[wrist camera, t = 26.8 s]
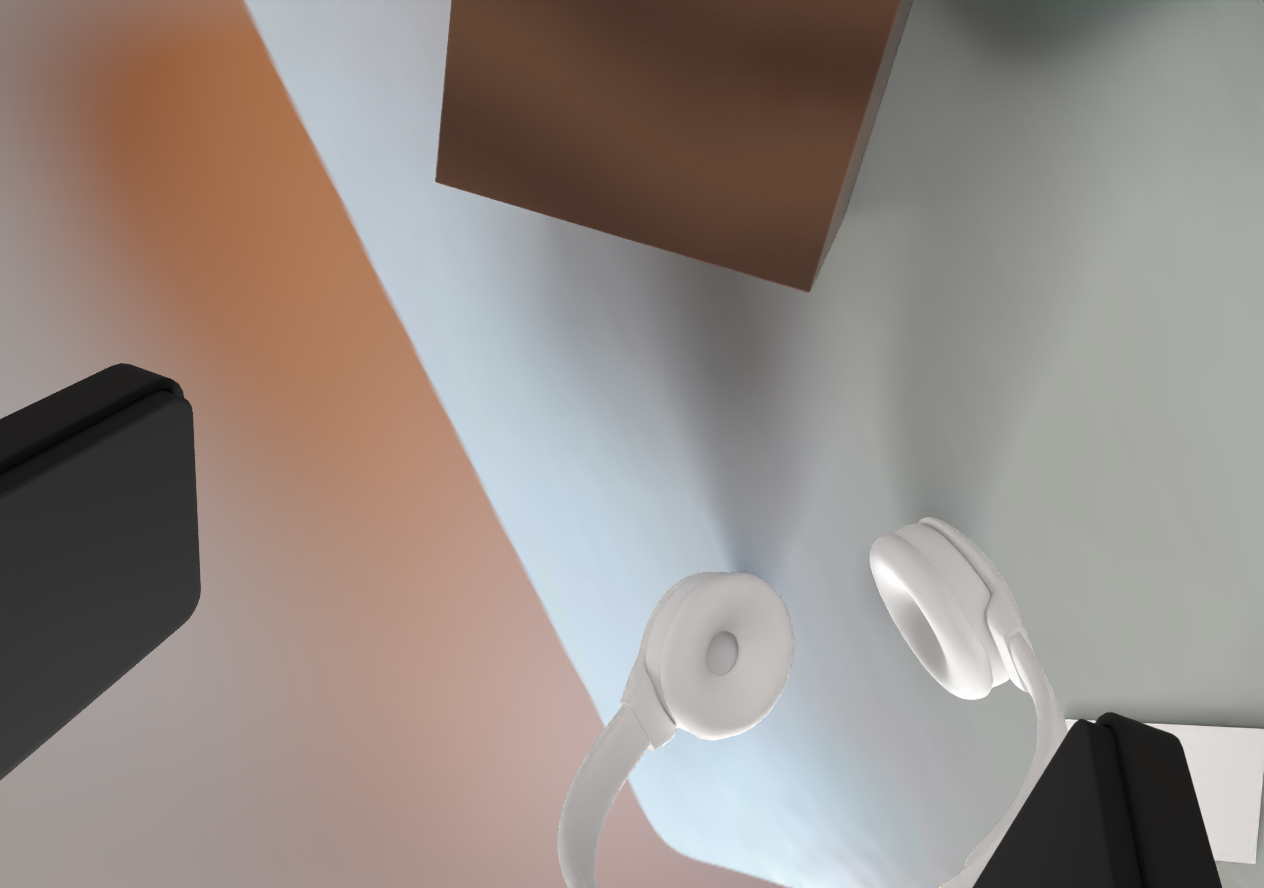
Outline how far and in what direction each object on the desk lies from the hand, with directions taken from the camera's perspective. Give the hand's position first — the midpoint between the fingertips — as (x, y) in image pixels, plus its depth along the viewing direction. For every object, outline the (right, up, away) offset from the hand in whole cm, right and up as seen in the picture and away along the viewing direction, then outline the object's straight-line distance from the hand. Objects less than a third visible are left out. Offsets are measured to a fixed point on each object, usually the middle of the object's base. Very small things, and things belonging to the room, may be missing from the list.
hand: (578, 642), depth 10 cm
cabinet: (+4, +18, +25) cm, 31 cm away
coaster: (+25, -14, +34) cm, 44 cm away
